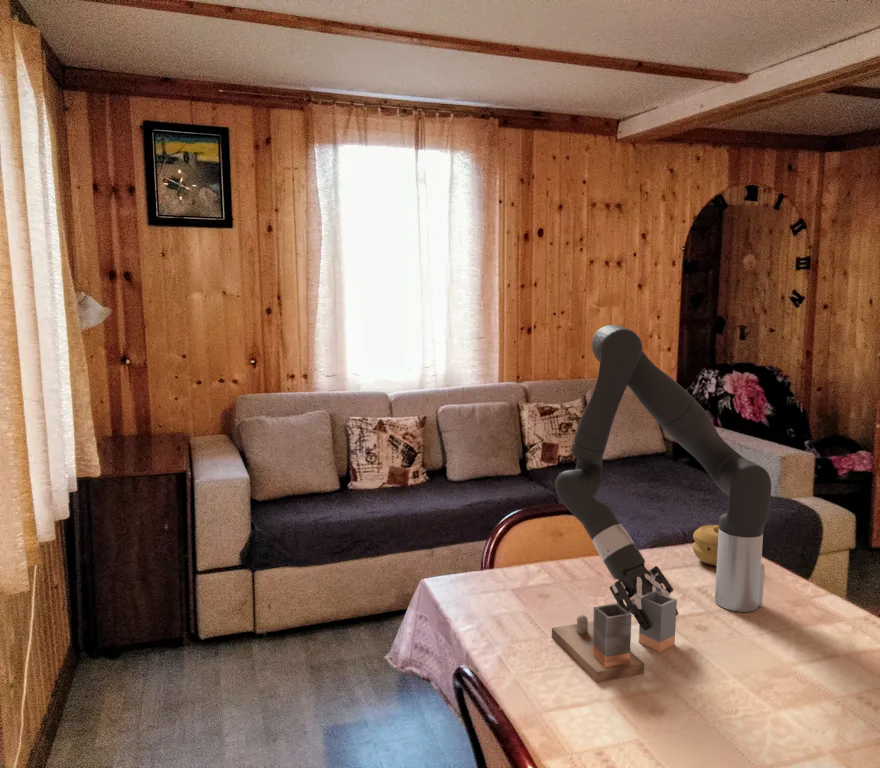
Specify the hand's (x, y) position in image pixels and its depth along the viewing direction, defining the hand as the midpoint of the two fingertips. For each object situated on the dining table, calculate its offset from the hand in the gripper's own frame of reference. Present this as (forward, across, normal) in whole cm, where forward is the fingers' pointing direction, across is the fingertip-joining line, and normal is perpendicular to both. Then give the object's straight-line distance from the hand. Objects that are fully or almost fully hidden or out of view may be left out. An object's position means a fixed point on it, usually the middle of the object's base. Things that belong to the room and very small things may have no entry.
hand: (662, 622), depth 146 cm
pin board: (-1, -13, +8) cm, 15 cm away
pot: (-9, +49, +16) cm, 52 cm away
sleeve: (+3, 0, +4) cm, 5 cm away
